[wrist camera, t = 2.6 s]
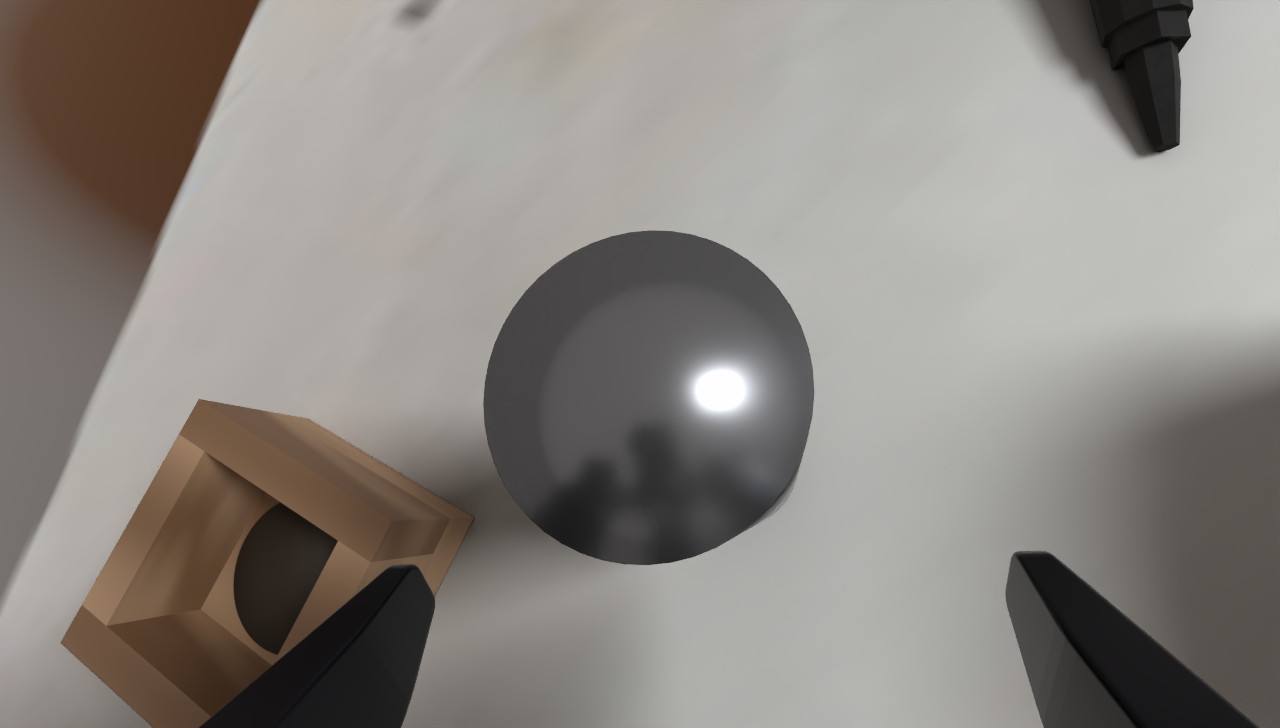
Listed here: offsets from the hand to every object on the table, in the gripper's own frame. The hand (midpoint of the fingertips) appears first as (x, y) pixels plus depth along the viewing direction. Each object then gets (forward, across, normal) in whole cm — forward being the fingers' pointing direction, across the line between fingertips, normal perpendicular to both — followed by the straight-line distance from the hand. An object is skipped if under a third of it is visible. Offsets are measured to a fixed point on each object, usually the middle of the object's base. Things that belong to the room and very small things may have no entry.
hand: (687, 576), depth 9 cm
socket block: (+6, +14, +7) cm, 17 cm away
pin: (+9, 0, +5) cm, 10 cm away
